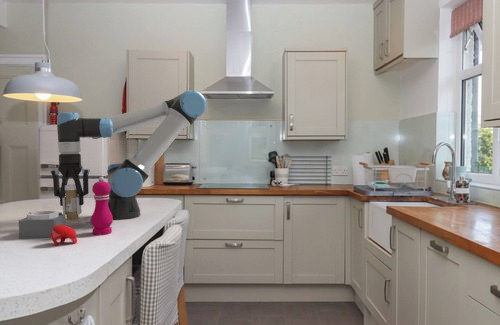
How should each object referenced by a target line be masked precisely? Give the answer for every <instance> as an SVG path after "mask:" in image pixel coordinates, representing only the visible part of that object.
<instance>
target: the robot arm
mask: <svg viewBox="0 0 500 325" xmlns="http://www.w3.org/2000/svg"><path fill="white" fill-rule="evenodd" d="M206 110H207V99H206V98H205V96H204V95H203V94H202V93H201V92H199V91H198V90H194V89H189V90H186V91H184V92H182V93H181V94H179V95H177V96H175V97H173V98H170V99H168V100H165V101H162V103H161V104H158V105H154V106H153V105H152V106H150V107H149V106H148V107H146V108H140V109H136V110H133V111H129V112H124V113H121V114H117V115H113V116H109V117H108V116H107V117H101V118H98V117H97V118H93V117H92V118H90V117H89V118H88V117H87V118H83V117H80V114H79V113H78V112H69V111H68V112H67V111H66V112H65V111H64V112H59V113H57V117H56V120H57V121H56V123H57V124H56V126H57V127H56V128H57V142H58V143H57V144H58V146H57V147H58V149H57V150H58V153H59V155H58V167H57V168H56V169H53V170H51V171H50V173H51V176H52V184H53V195H54V197H58V199H59V205H60V207H62V214H65V216H66V193H65V185H68V181H69V179H70V178H71V179H72V180H73V182H74V184H75V186H76V189H77V193H78V197H76V200H77V214H79V215H81V214H83V213H82V212H83V211H82V206H83V205H84V203H85V201H84V200H85V199H84V197H85V196H87V195H88V194H89V174H90V169H89V168H87V169H86V168H84V167H83V166H82V155H81V138H83V139H84V138H88V139H89V138H91V139H92V140H97V139H101V138H103V139H105V138H111V137H113V135H115V134H119V133H123V132H127V131H131V130H133V129H138V128H142V127H143V128H144V127H146V126H150V125H153V124H158V123H160V125H158V126H157V128H156V129H155V130H154V131H153V132H152V134H150V135H149V137H148V139H146V141H145V142H144V143H143V144H142V146H141V147H139V149H138V150H137V151H136V153H134V155H133V156H132V157H126V158H125V160H123V162H122V163H111V164H109V165H108V167H107V171H106V172H107V183H109V184H110V187H111V190H110V192H109V193H108V195H109V199H108V207H109V210H110V212H111V214H112V217H113V220H126V219H134V218H137V217H140V216H141V209H140V207H139V203H138V200H137V194H139V192H141V190H142V188H143V185H144V183H145V182H146V181H147V180H148V178H149V177H150V170H151V169H152V167H153V166H154V165H155V164H156V163H157V161H158V160H159V159H160V158H161V157H162V155H164V153H165V152H166V151H167V149H168V148H169V147H170V146H171V144H172V143H173V142H174V141H175V140H176V138H177V137H178V136H179V135H180V134H181V133H182V131H183V130H184V129H185V128H190V127H191V126H192V125H193V124H194V123H195V121H196V119H198V118H200V117H201V116H203V114H204V113H205V112H206ZM60 174H61V176H62V177H61V184H60V176H59V175H60ZM80 174H82V184H81V181H80V180H81V179H80Z"/></svg>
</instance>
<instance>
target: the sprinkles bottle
mask: <svg viewBox="0 0 500 325" xmlns="http://www.w3.org/2000/svg"><path fill="white" fill-rule="evenodd" d="M65 195H66V196H65V197H66V215H65V221H68V222H69V221H77V220H79V219H80V217H79V215H80V214H77V200H76V197H78V193H77V189H76V186H75V183H74V184H67V185H65Z"/></svg>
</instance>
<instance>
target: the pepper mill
mask: <svg viewBox="0 0 500 325" xmlns="http://www.w3.org/2000/svg"><path fill="white" fill-rule="evenodd" d="M91 188H92V189H91V190H92V193H93V197H94V198H93V200H94V202H95V206H94V210H93V213H92V215H91V219H90V224H91V225H92V227H93V228H92V234H93V235H94V236H104V235H109V234H112V232H113V230H112V226H111V225H112V224H113V222H114V219H113V217H112V214H111V212H110V210H109V207H108V199H109V195H108V193H109V192H110V190H111V187H110V184H109V183H108V181H105V177H103V176H99V177H98V181H96V182H94V184H93V185H92V187H91Z"/></svg>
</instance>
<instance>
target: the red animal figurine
mask: <svg viewBox="0 0 500 325" xmlns="http://www.w3.org/2000/svg"><path fill="white" fill-rule="evenodd" d="M50 238H51V240H52V243H54V245H55V247H57V246H59V243H64V242H65V241H66V240H67V239H69V240H70V241H71V242H72V243H74V244H77V243H78V238H77V231H76V230H75V229H74V228H72V227H70V226H69V225H66V224H65V225H57V226H55V227H53V230H52V232H51V237H50ZM57 240H59V243H58V241H57Z"/></svg>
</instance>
